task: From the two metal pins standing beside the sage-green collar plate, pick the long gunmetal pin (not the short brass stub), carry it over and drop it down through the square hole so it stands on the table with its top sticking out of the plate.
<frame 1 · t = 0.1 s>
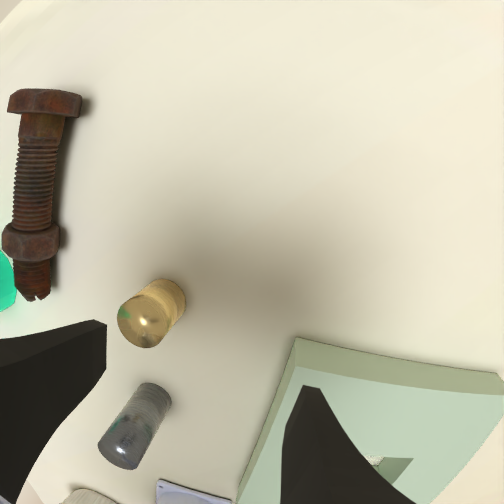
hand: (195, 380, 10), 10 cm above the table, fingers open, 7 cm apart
tall pin: (154, 397, 23), on the table
short pin: (165, 300, 21), on the table
bolt: (53, 194, 21), on the table
collar plate: (365, 446, 22), on the table
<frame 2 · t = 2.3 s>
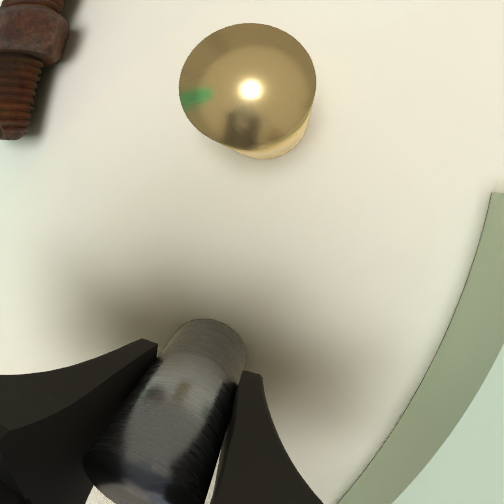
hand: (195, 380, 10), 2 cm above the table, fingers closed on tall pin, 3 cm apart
tall pin: (208, 353, 12), on the table, touching gripper
short pin: (263, 115, 10), on the table
bolt: (68, 2, 10), on the table
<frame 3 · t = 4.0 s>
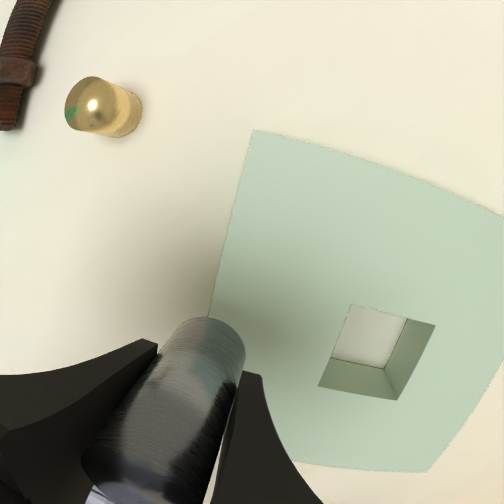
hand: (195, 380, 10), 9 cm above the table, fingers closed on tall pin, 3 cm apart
tall pin: (208, 351, 12), point 7 cm above the table, touching gripper
short pin: (121, 114, 18), on the table
bolt: (37, 46, 17), on the table
collar plate: (365, 329, 18), on the table
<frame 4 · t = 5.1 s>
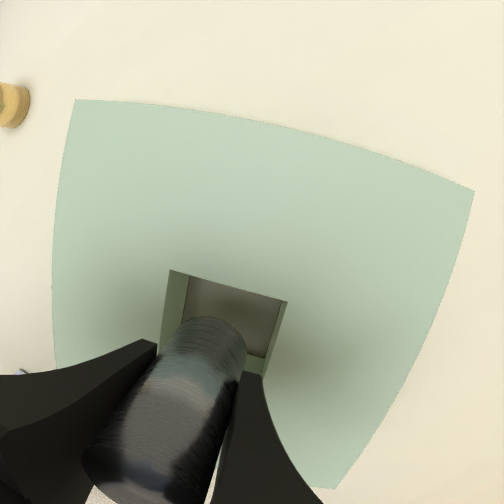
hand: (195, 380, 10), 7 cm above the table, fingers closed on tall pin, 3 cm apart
tall pin: (208, 350, 12), point 5 cm above the table, touching gripper
short pin: (17, 107, 16), on the table
collar plate: (230, 307, 17), on the table
when the fingers open (4 cm above the table, at t = 5.9 s): tall pin drops 2 cm, resting in collar plate.
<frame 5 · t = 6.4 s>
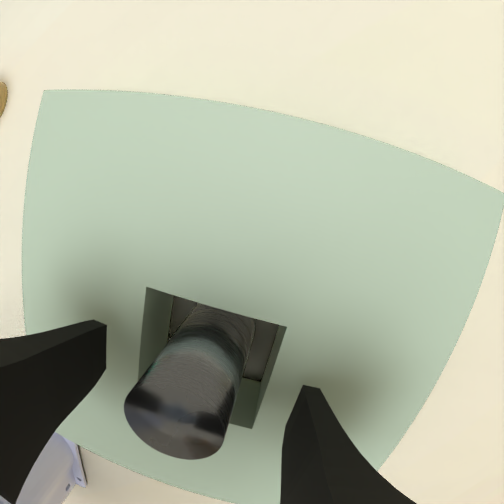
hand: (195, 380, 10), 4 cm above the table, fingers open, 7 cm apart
tall pin: (222, 324, 15), resting in collar plate
collar plate: (221, 326, 15), on the table
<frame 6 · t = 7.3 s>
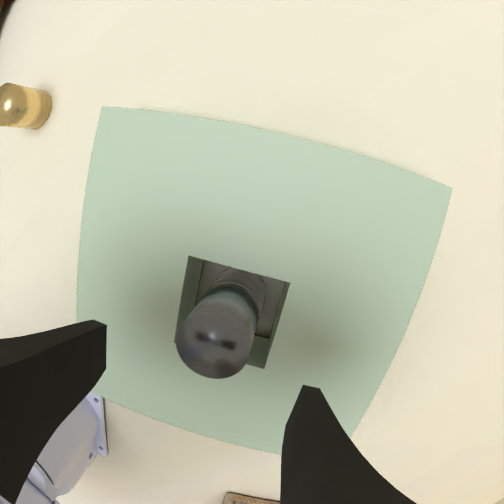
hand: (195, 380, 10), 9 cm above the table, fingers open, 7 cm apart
tall pin: (240, 290, 19), resting in collar plate
short pin: (38, 110, 18), on the table
collar plate: (239, 292, 19), on the table
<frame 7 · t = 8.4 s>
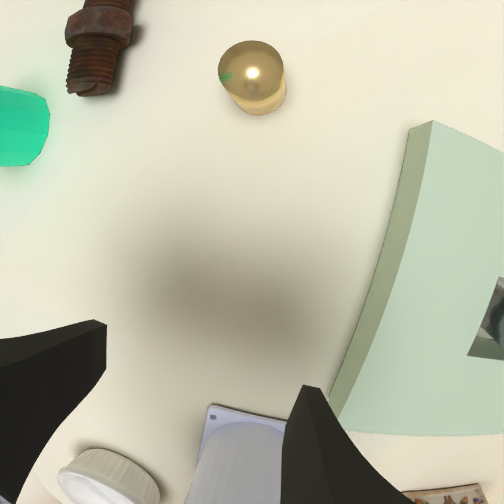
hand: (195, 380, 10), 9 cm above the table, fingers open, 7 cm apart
tall pin: (484, 302, 17), resting in collar plate
short pin: (259, 90, 17), on the table
bolt: (124, 8, 17), on the table
candle: (26, 129, 19), on the table
ramekin: (122, 473, 26), on the table
collar plate: (484, 303, 17), on the table
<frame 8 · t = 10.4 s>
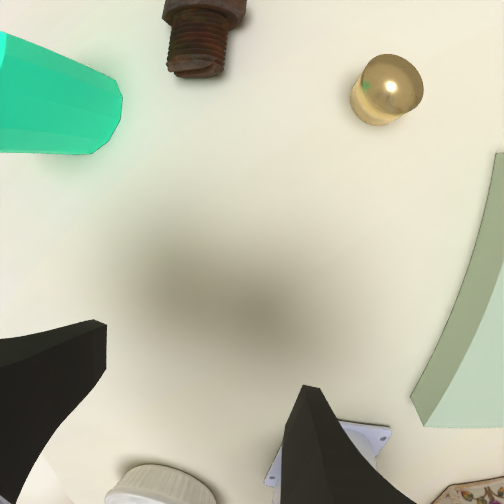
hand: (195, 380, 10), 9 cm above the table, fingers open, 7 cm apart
short pin: (374, 101, 16), on the table
candle: (88, 113, 18), on the table
ramekin: (173, 487, 26), on the table
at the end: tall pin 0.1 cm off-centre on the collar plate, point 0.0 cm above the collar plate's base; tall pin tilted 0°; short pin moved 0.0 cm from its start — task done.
